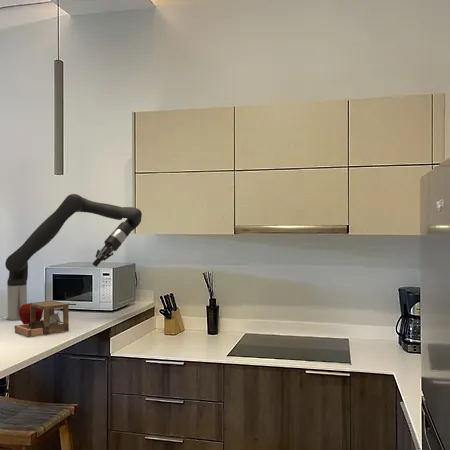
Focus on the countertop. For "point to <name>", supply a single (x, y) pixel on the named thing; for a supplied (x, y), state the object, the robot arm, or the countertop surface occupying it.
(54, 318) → the game die
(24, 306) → the apple
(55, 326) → the tunnel
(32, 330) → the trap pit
